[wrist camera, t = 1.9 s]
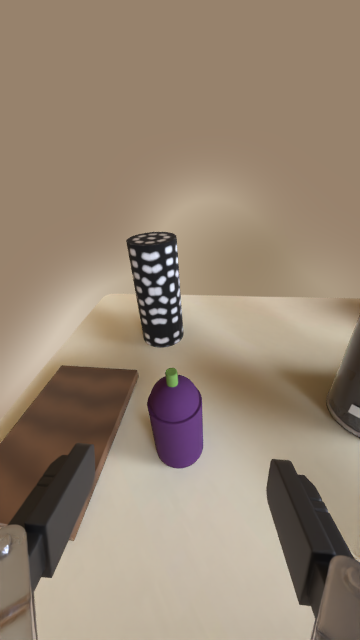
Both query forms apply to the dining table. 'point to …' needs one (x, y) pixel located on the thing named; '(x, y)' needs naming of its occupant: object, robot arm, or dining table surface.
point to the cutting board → (62, 430)
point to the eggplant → (176, 419)
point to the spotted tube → (157, 286)
